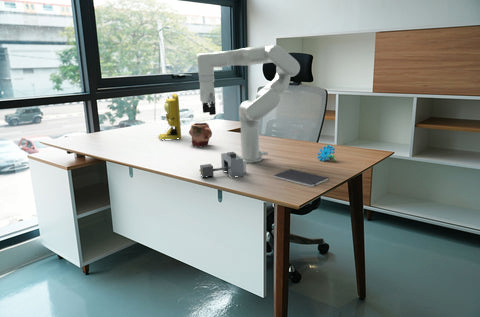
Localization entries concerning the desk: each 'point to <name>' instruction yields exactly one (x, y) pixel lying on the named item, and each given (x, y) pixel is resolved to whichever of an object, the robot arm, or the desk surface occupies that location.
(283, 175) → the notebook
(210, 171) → the plug
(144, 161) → the desk surface
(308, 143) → the desk surface
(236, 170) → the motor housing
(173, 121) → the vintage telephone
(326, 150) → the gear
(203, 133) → the decorative planter
